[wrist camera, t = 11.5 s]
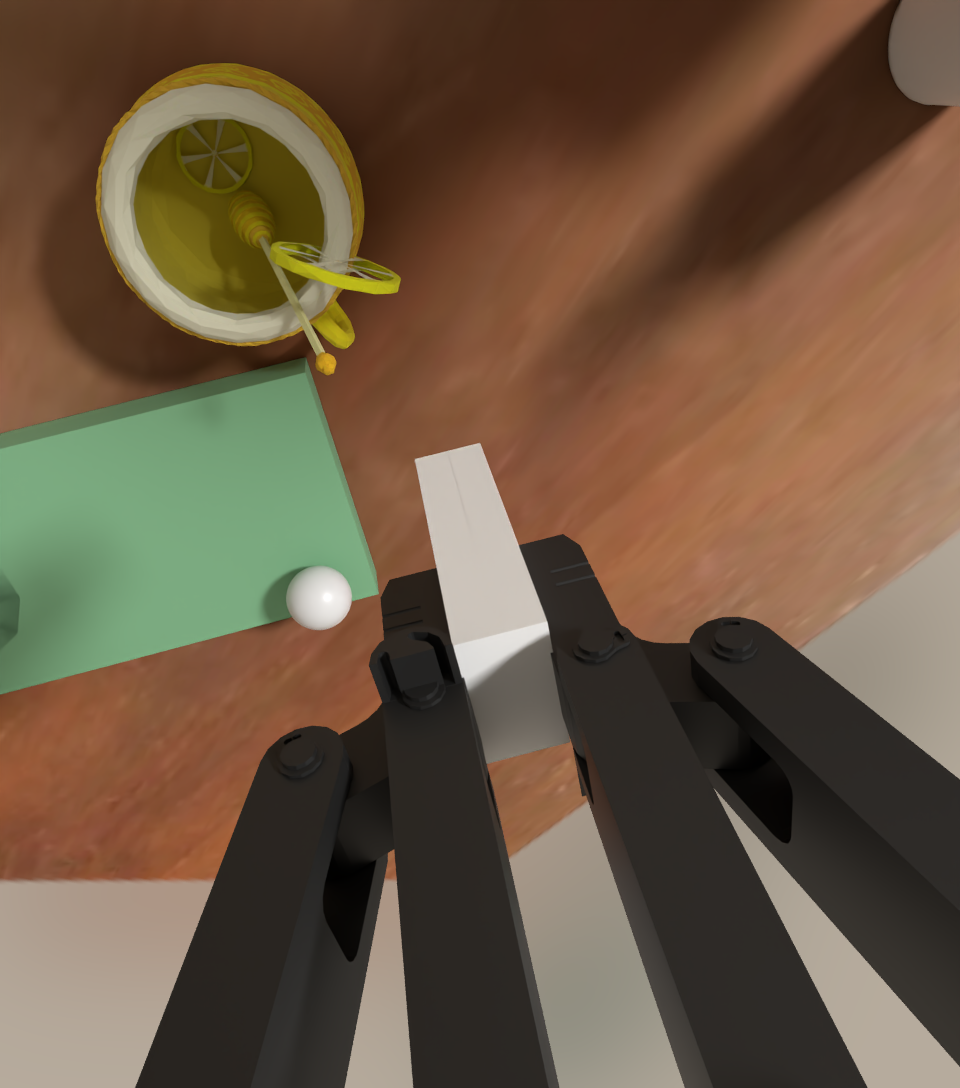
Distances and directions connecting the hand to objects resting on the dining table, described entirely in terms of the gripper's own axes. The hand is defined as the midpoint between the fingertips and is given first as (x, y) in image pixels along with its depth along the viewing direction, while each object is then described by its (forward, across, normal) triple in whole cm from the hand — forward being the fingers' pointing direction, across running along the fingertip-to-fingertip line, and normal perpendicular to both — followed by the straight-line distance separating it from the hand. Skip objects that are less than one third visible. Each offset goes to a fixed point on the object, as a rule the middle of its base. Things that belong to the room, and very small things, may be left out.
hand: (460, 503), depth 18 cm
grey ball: (+21, -8, -16) cm, 27 cm away
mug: (+26, -6, +3) cm, 26 cm away
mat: (+25, -20, -11) cm, 33 cm away
